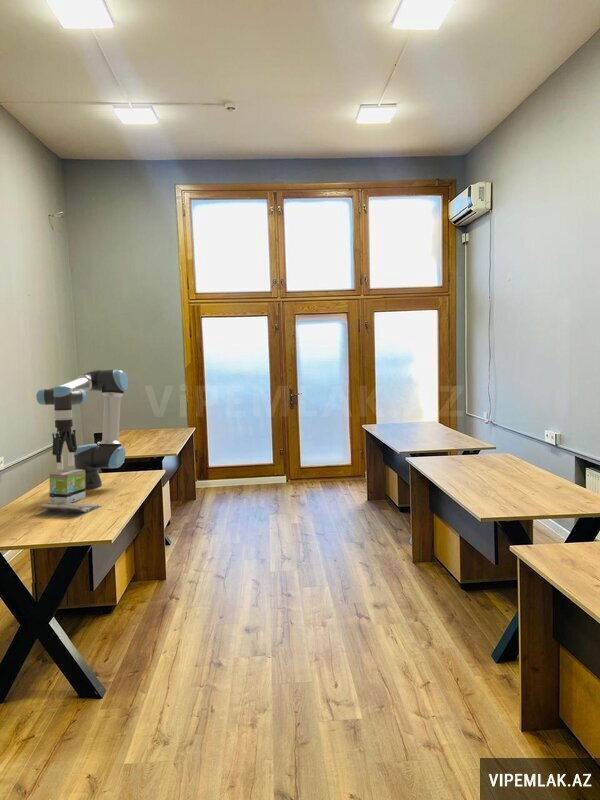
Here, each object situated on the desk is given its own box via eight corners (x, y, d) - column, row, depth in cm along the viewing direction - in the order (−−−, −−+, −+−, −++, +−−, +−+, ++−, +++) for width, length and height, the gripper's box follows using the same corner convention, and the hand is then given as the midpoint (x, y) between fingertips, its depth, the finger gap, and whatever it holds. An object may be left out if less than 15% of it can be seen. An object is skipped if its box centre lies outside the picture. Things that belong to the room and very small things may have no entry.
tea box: (67, 505, 253) (66, 474, 253) (49, 504, 255) (48, 473, 255) (86, 497, 268) (85, 468, 267) (68, 497, 270) (67, 468, 269)
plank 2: (67, 511, 242) (68, 508, 243) (86, 512, 240) (86, 509, 241) (57, 507, 235) (57, 504, 236) (76, 508, 233) (76, 505, 234)
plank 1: (48, 510, 245) (49, 507, 245) (66, 511, 243) (67, 508, 243) (37, 506, 237) (38, 503, 238) (56, 507, 235) (56, 504, 236)
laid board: (61, 505, 253) (60, 502, 253) (98, 507, 249) (98, 504, 249) (49, 509, 246) (49, 507, 246) (88, 511, 241) (87, 509, 241)
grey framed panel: (62, 504, 256) (62, 503, 256) (102, 506, 251) (102, 506, 251) (34, 515, 237) (34, 515, 237) (77, 518, 232) (77, 517, 232)
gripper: (70, 416, 258) (72, 463, 260) (41, 421, 238) (44, 471, 240) (84, 416, 256) (86, 463, 258) (56, 421, 237) (58, 472, 238)
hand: (65, 467), depth 249 cm, fingers open, 7 cm apart
